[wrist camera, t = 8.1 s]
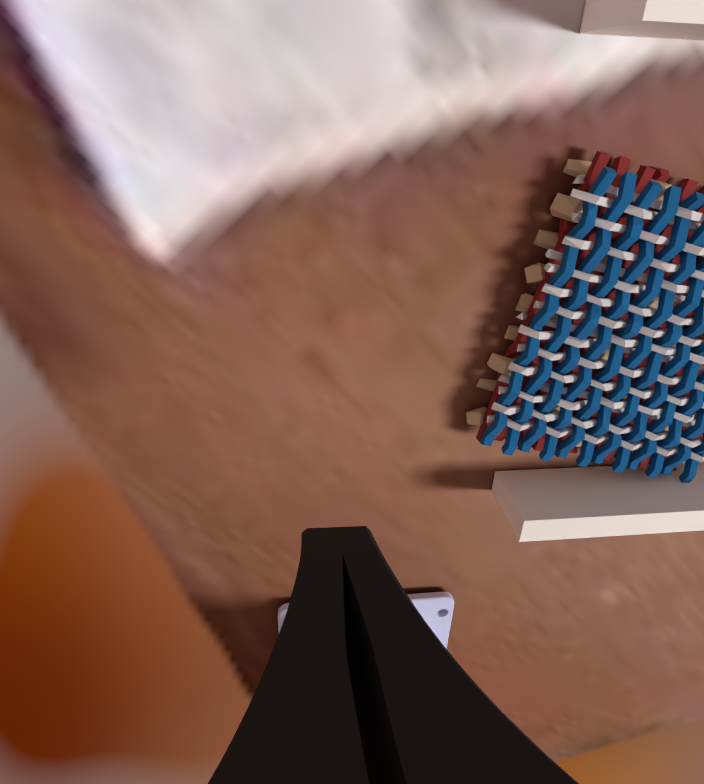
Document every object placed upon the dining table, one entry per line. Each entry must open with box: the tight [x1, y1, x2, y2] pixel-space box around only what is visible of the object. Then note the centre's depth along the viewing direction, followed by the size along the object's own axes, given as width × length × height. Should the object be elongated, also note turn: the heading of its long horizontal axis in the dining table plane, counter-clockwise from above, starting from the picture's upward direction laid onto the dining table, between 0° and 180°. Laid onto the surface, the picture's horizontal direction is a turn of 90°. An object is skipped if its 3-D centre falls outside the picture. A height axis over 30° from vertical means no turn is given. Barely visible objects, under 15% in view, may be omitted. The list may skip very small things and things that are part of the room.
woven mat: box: [466, 152, 704, 483], centre depth 20 cm, size 10×11×2 cm
